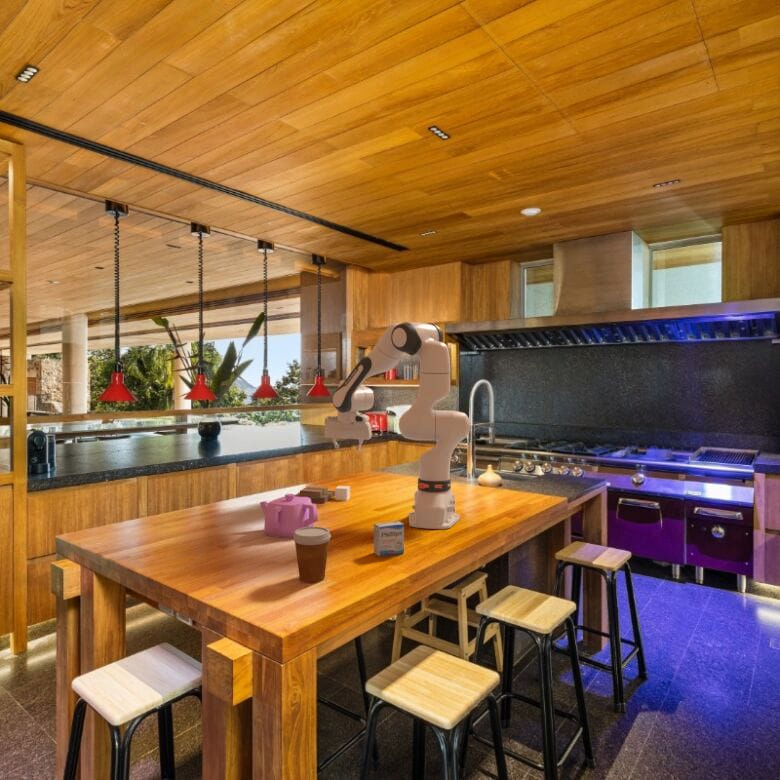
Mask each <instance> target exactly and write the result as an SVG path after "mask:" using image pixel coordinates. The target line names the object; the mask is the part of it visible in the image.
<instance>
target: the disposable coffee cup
mask: <svg viewBox="0 0 780 780" xmlns="http://www.w3.org/2000/svg"><path fill="white" fill-rule="evenodd" d="M331 537H332V535H331V533H330V530H329V528H326V527H323V526H313V527H304V528H300V529H297V530H296V531H295V534H294V536H293V538H292V539H293V541H294V542H293V543H294V545H295V551H296V552H295V553H296V561H297V569H298V575H299V581H301V582H303V583H307V584H308V583H309V584H313V583H315V584H316V583H318V582H319V583H320V582H322V581H324V580H325V577H326V568H327V560H328V552H329V545H330V540H331Z"/></svg>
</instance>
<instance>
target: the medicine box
mask: <svg viewBox="0 0 780 780" xmlns="http://www.w3.org/2000/svg"><path fill="white" fill-rule="evenodd" d="M373 553H374V554H375V555H377V556H378V557H379V558H383V557H382V556H384V557H390V556H396V554H397V555H402V554H404V553H405V525H404V523H403V522H402V521H399V520H397V521H388V522H378V523H377V522H376V523H374V524H373ZM389 555H390V556H389Z"/></svg>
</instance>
